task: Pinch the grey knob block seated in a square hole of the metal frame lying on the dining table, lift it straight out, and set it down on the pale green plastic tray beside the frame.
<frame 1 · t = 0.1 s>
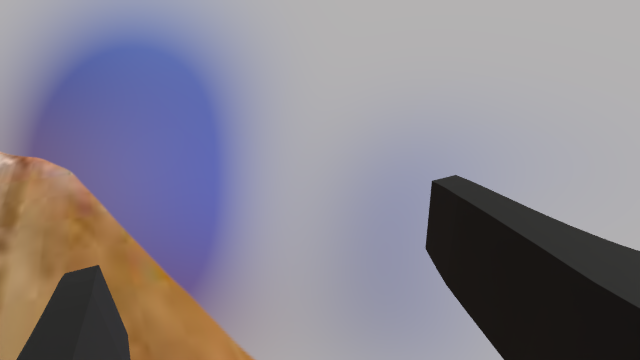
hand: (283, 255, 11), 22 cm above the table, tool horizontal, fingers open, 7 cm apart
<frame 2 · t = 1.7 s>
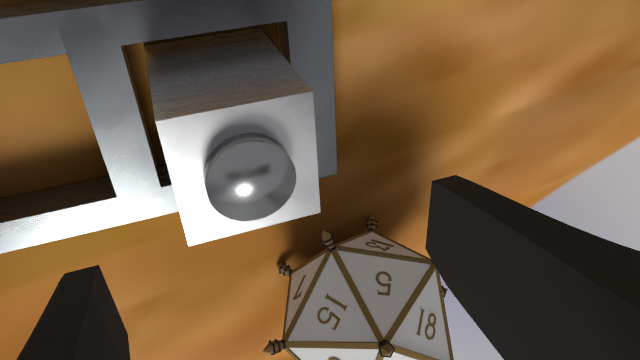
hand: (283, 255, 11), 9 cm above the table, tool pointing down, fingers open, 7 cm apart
grey knob block: (213, 90, 18), resting in metal frame
game die: (332, 256, 25), on the table
metal frame: (118, 107, 17), on the table
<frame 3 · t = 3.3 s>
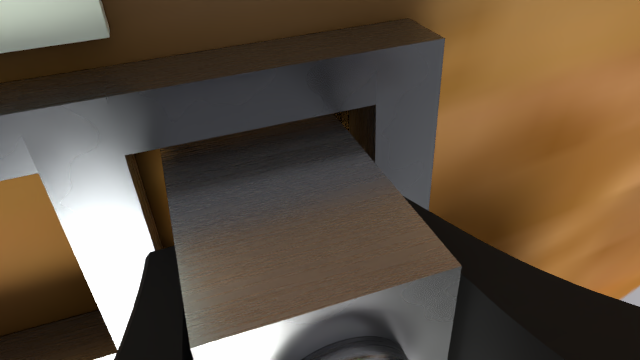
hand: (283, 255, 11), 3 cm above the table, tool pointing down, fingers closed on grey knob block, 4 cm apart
grey knob block: (256, 189, 13), resting in metal frame, touching gripper
metal frame: (120, 222, 12), on the table
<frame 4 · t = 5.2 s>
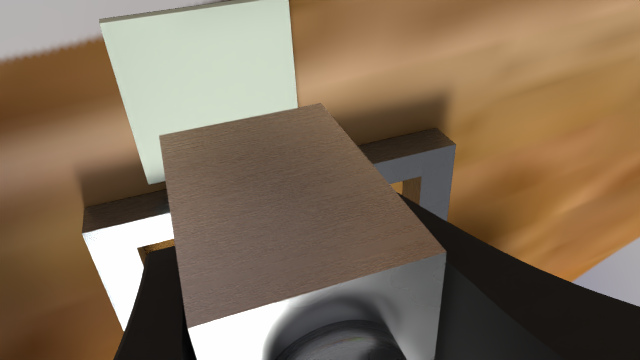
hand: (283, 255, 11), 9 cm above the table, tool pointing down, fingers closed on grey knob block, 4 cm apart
grey knob block: (253, 186, 13), point 6 cm above the table, touching gripper
metal frame: (284, 234, 22), on the table
tray: (212, 90, 18), on the table
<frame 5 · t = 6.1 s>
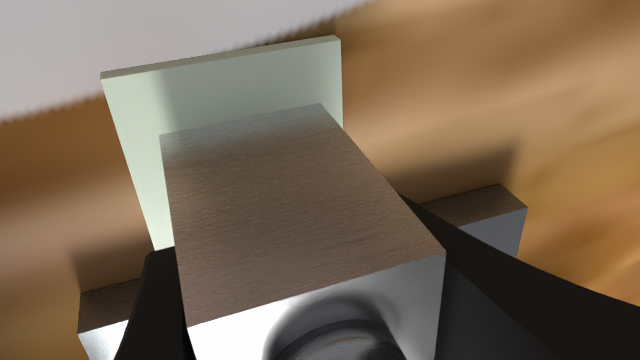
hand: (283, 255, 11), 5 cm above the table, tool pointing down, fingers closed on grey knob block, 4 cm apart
grey knob block: (253, 186, 13), point 2 cm above the table, touching gripper
metal frame: (318, 308, 19), on the table
tray: (240, 152, 14), on the table
when the fingers open (5 cm above the table, at t = 6.9 s): grey knob block drops 1 cm, resting on tray.
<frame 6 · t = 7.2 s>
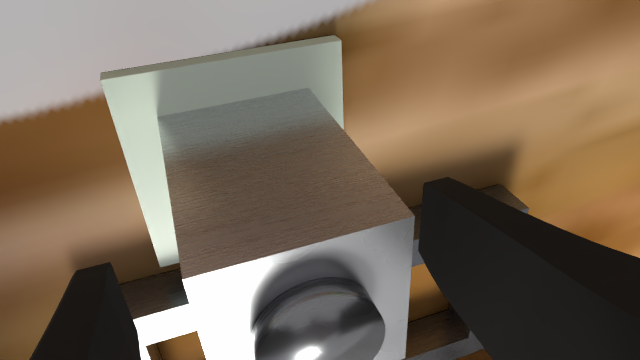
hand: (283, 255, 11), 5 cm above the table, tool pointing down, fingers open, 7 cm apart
grey knob block: (246, 166, 14), resting on tray
metal frame: (319, 308, 19), on the table
tray: (241, 153, 14), on the table
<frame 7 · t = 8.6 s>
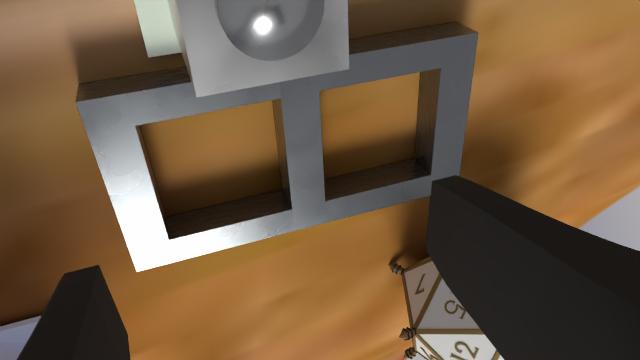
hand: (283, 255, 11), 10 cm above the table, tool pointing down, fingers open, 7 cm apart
game die: (432, 257, 29), on the table
metal frame: (293, 136, 21), on the table
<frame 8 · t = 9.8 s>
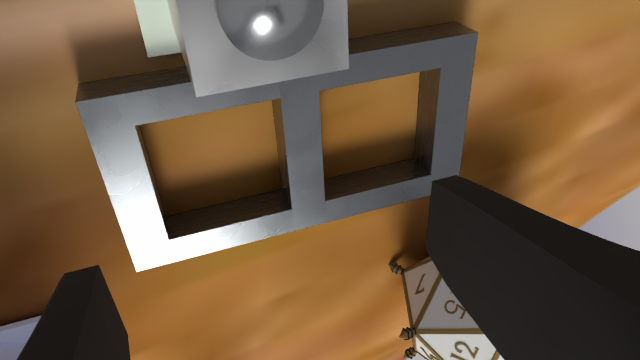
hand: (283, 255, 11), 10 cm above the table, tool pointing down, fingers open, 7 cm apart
game die: (432, 257, 29), on the table
metal frame: (293, 136, 21), on the table
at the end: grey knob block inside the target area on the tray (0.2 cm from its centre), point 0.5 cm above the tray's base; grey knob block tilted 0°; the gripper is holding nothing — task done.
